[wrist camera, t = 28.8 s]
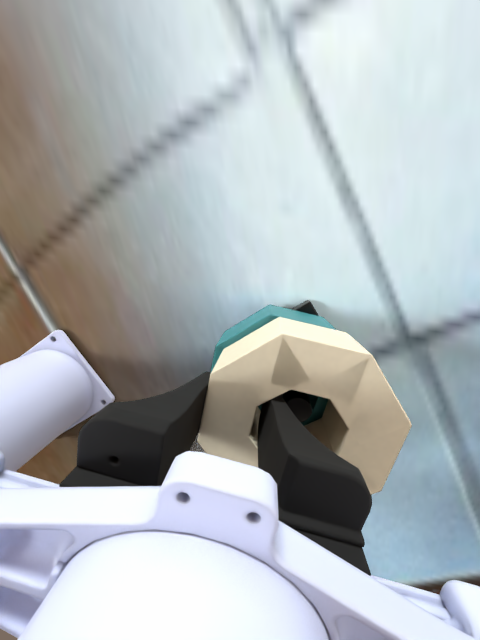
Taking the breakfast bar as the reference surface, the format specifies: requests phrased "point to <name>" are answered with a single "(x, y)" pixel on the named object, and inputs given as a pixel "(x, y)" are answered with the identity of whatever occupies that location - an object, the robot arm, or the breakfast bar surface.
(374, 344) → the breakfast bar surface
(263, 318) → the teal ring
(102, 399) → the robot arm
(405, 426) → the cream ring
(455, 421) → the breakfast bar surface
